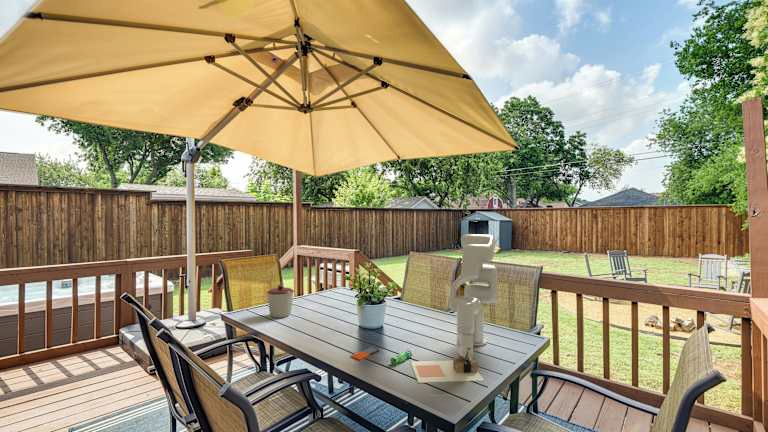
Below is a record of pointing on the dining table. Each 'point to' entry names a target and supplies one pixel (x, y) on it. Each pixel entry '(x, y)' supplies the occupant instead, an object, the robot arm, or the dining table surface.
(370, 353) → the orange grey slab
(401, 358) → the candy
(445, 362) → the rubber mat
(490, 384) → the dining table surface
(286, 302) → the canister
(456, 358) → the walnut card box
